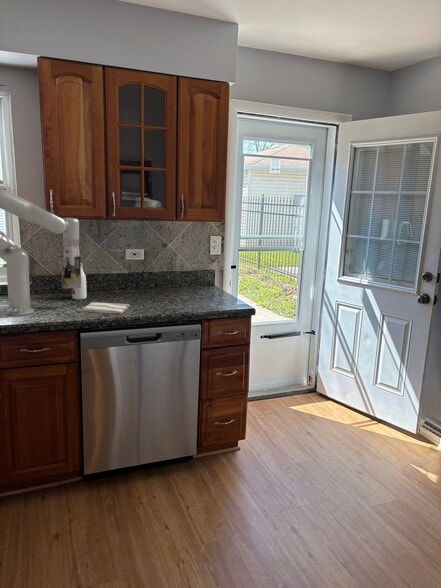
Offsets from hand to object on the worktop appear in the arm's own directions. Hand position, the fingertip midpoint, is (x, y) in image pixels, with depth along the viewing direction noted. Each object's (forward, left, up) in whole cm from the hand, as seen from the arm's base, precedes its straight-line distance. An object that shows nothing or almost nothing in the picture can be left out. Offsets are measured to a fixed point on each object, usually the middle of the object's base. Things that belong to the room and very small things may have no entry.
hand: (71, 276), depth 216 cm
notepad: (0, -18, -16) cm, 24 cm away
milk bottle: (+18, +3, -16) cm, 25 cm away
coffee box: (0, 0, -6) cm, 6 cm away
